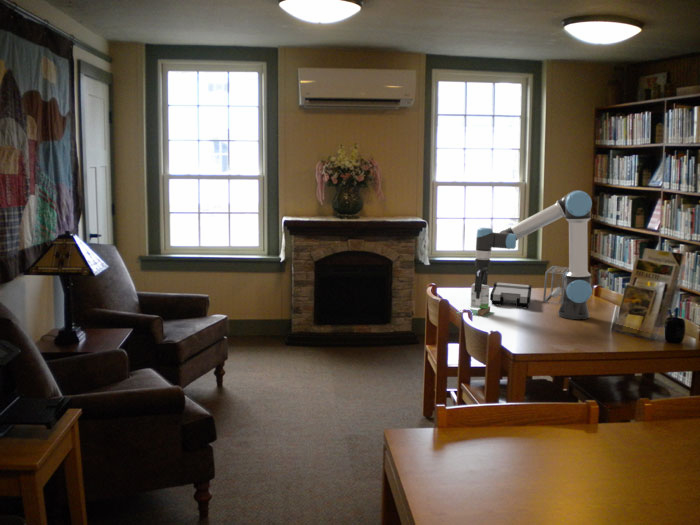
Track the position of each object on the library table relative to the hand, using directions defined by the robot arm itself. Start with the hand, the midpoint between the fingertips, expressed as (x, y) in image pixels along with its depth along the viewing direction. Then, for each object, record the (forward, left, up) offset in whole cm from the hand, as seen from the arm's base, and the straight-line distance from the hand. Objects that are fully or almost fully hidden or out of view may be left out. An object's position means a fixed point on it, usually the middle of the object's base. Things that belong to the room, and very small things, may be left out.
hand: (479, 303), depth 360 cm
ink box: (0, 0, -2) cm, 2 cm away
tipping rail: (-2, 0, -5) cm, 6 cm away
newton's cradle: (-24, -68, -6) cm, 72 cm away
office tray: (-5, -41, -6) cm, 42 cm away
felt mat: (+2, 0, -5) cm, 6 cm away
